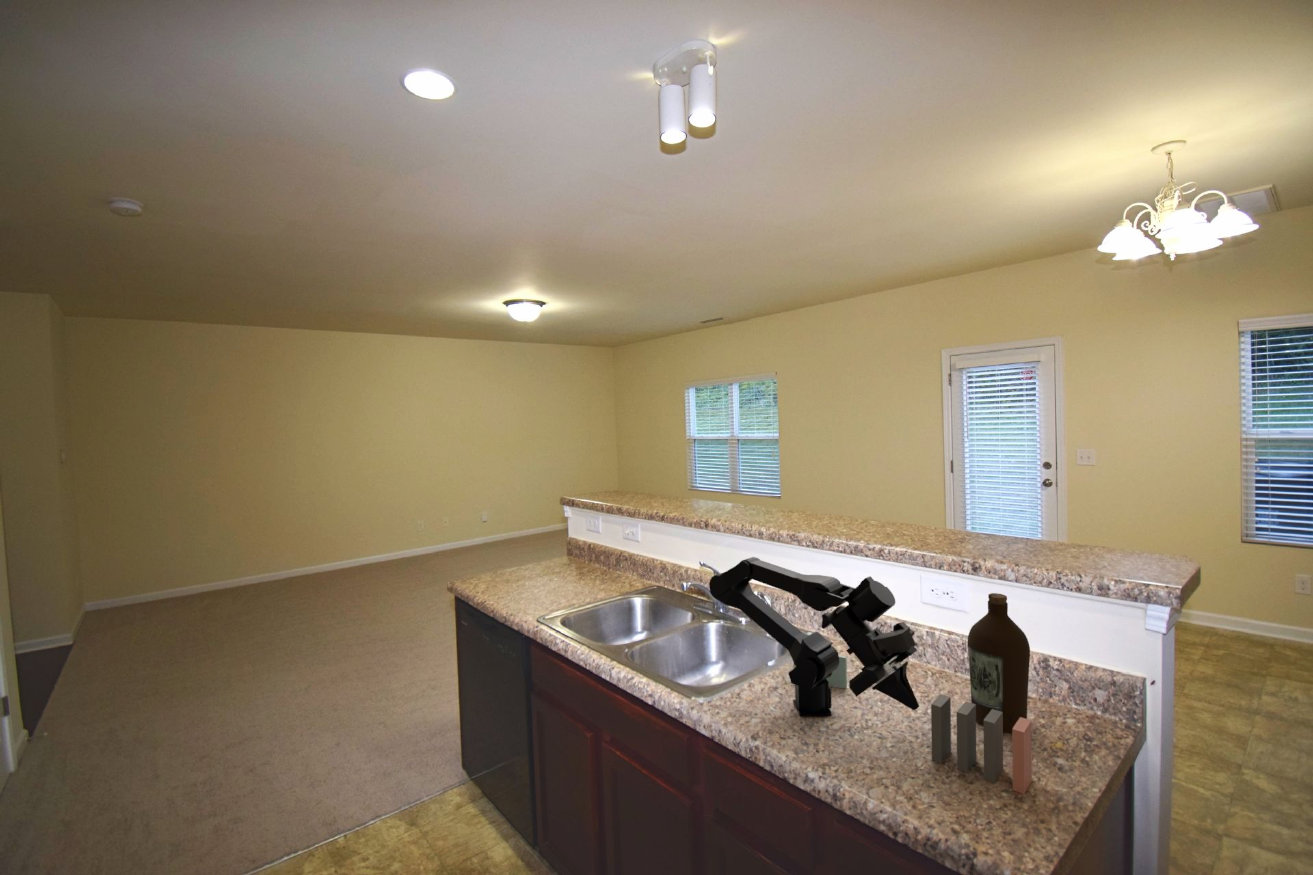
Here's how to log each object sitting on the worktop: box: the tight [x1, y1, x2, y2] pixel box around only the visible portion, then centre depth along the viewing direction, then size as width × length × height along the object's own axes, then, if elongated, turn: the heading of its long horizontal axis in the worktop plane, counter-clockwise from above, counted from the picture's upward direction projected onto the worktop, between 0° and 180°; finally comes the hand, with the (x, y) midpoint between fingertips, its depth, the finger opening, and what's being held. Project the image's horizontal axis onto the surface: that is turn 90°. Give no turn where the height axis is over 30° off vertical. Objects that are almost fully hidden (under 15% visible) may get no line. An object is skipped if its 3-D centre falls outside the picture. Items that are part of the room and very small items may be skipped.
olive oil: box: [967, 592, 1031, 734], centre depth 116 cm, size 11×11×25 cm
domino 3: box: [983, 709, 1004, 784], centre depth 99 cm, size 2×5×10 cm, turn 136°
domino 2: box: [956, 701, 977, 774], centre depth 102 cm, size 2×5×10 cm, turn 136°
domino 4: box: [1011, 717, 1033, 795], centre depth 96 cm, size 2×5×10 cm, turn 136°
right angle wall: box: [792, 631, 848, 690], centre depth 139 cm, size 12×12×8 cm
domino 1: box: [930, 693, 952, 765], centre depth 104 cm, size 2×5×10 cm, turn 136°
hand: (916, 708), depth 107 cm, fingers closed
